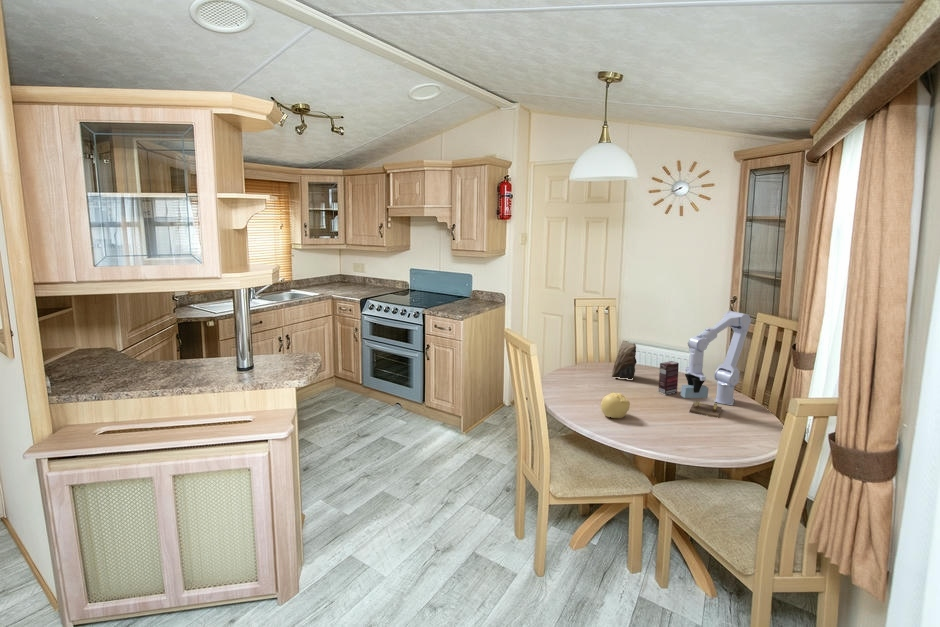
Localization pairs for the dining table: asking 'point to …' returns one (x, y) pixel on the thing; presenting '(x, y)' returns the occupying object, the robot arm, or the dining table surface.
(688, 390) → the light blue rectangular block
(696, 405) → the peg stand
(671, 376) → the supplement box
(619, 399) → the yellow round lump
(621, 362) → the brown rock
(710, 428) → the dining table surface
